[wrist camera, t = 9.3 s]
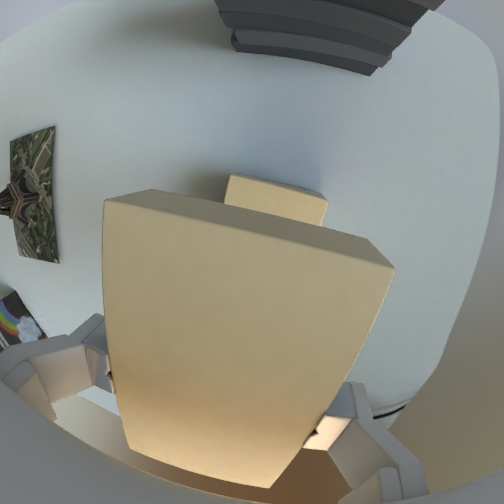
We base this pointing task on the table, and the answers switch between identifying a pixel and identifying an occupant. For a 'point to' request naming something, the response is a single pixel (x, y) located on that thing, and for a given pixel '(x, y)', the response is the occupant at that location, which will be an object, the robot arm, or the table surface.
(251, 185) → the cream stack
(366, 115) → the table surface
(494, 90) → the table surface
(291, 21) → the grey stack
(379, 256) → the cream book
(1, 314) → the chalk box
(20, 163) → the eiffel tower figurine
